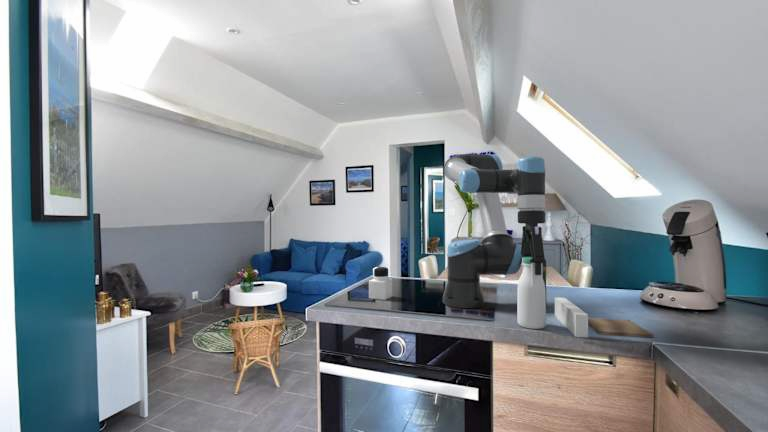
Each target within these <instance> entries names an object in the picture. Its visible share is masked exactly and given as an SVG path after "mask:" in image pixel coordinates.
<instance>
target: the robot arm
mask: <svg viewBox="0 0 768 432" xmlns="http://www.w3.org/2000/svg"><path fill="white" fill-rule="evenodd" d="M502 163H503V162H502V160H501V158H500V156H498V155H496V154H491V153H485V154H472V153H469V154H467V153H462V154H456V155H454V156H451V157H450V158H448V159H447V160H446V161H445V163H444V166H443V173H444V176H445V178H447V179H448V180H450V181H451V182H457V183H458V186H459V187H458V188H459V190H460V192H462V193H463V194H464V193H469V194H476V197H477V203H478V208H479V209H478V210H479V214H480V219H481V226H482V230H483V238H482V239H481V241H480V239H476V238H474V239H463V240H456V241H453V242H450V243H448V245H447V253H446V257H447V282H446V285H445V289H444V292H443V295H442V303H443V304H444V305H446V306H449V307H453V308H459V309H461V308H462V309H476V308H482V307H484V306H485V303H486V302H485V301H486V299H485V295H484V292H483V289H482V286H481V279H480V277H481V276H484V275H485V276H488V275H489V276H498V275H499V276H506V275H515V274H517V273H518V272H519V271H520V269H521V273H522V272H523V269H524V265H523V257H532V259H530V263H531V268H532V287H543V261H545V260H546V258H545V250H544V243H543V235H542V232H543V231H542V230H543V228H542V227H541V226H538V224H545V223H546V211H545V210H544V209H546V203H547V202H548V198H546V172H547V171H546V165H545V163H546V162H545V159H544V158H543V157H542V156H527V157H520V158H519V159H518V160H517V162H516V163H517V166H516V169H503V164H502ZM500 194H509V195H510V194H511V195H513V194H515V195H517V205H516V206H517V210H518V212H517V223H518V224H525V225H524V226H522V235H521V236H522V237H521V245H520V243H517V242H515V241H514V238H513V236H512V235H511V234H509V233H508V230H507V225H506V222H505V221H506V220H505V217H504V211H503V208H502V207H503V206H502V203H501V198H500Z"/></svg>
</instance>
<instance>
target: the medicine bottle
mask: <svg viewBox="0 0 768 432" xmlns="http://www.w3.org/2000/svg"><path fill="white" fill-rule="evenodd" d="M392 297H393V279H392V278H389V268H388V267H386V266H376V267H374V268H372V279H369V281H368V298H369V299H372V300H381V301H386V300H388V299H390V298H392Z"/></svg>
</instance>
